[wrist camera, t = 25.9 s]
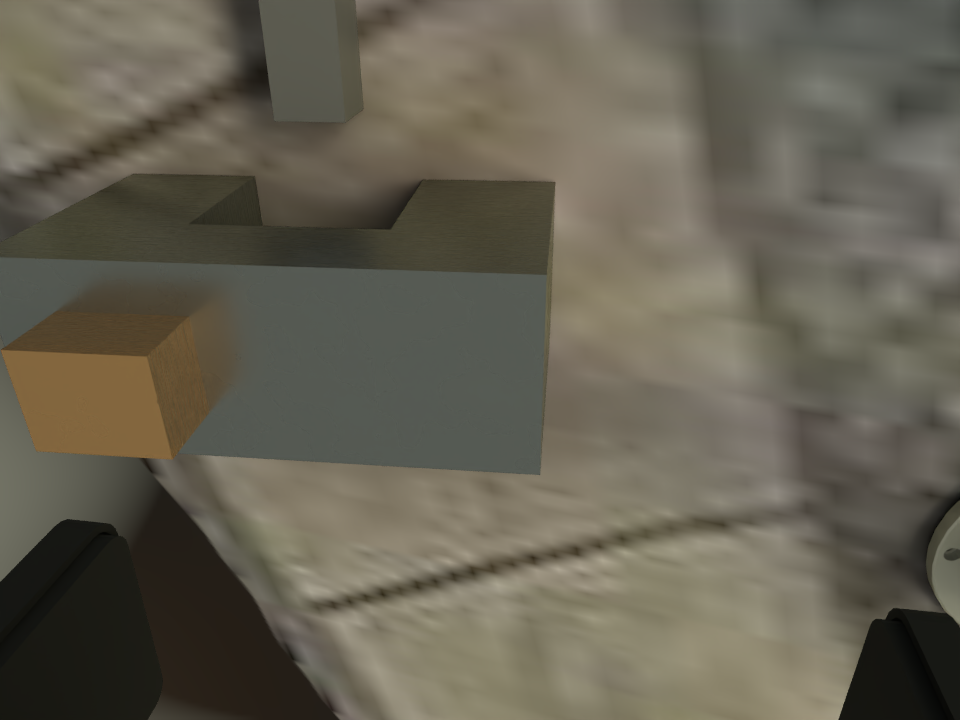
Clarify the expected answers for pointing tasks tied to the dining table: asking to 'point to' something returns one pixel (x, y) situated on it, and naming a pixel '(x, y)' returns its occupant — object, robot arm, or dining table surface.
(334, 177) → the dining table surface
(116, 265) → the grey boxy piece
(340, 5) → the plug
